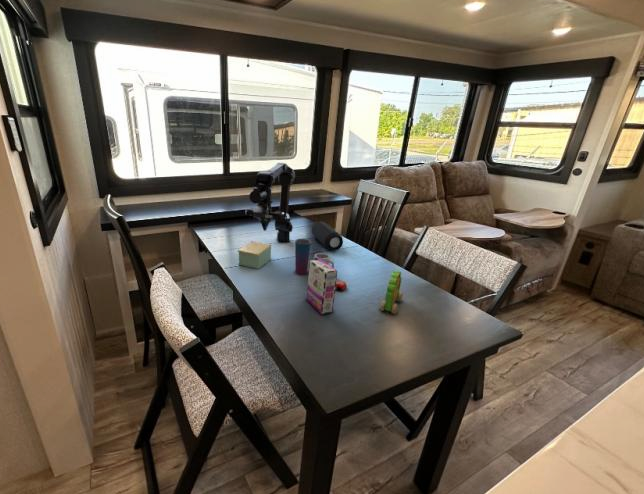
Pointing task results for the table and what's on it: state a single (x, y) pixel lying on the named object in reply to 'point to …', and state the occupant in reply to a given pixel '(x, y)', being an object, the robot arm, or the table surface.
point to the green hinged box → (255, 259)
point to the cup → (302, 255)
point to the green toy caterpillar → (393, 293)
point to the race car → (340, 285)
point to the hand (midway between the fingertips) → (264, 230)
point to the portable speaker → (327, 236)
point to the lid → (254, 248)
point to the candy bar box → (321, 285)
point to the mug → (324, 258)
